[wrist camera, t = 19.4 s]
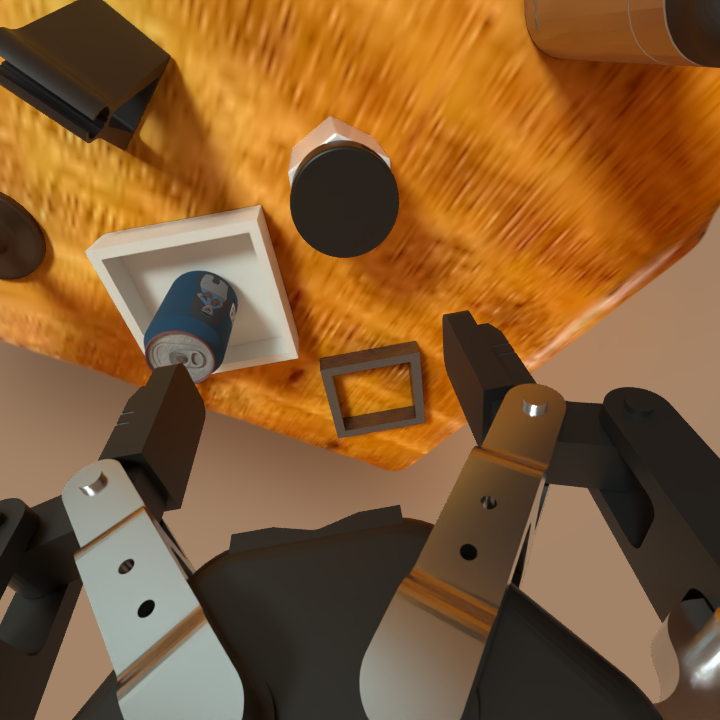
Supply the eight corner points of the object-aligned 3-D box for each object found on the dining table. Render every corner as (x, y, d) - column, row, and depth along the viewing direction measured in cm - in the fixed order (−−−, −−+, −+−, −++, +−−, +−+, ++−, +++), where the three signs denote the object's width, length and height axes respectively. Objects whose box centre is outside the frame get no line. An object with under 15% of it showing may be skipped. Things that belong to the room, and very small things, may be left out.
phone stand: (125, 150, 38) (64, 185, 29) (53, 100, 35) (-41, 120, 26) (172, 56, 34) (120, 60, 25) (95, -8, 32) (4, -30, 22)
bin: (261, 204, 42) (256, 219, 38) (298, 336, 52) (298, 358, 48) (103, 234, 42) (84, 251, 39) (170, 359, 52) (160, 383, 48)
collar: (415, 340, 54) (419, 352, 52) (421, 410, 61) (425, 422, 59) (319, 358, 54) (320, 370, 52) (337, 425, 61) (338, 438, 59)
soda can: (178, 321, 48) (145, 390, 38) (167, 263, 44) (128, 324, 34) (241, 323, 49) (225, 391, 39) (237, 266, 45) (217, 327, 35)
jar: (381, 210, 44) (402, 256, 34) (303, 220, 43) (301, 269, 34) (375, 110, 38) (398, 132, 29) (285, 121, 38) (277, 147, 28)
